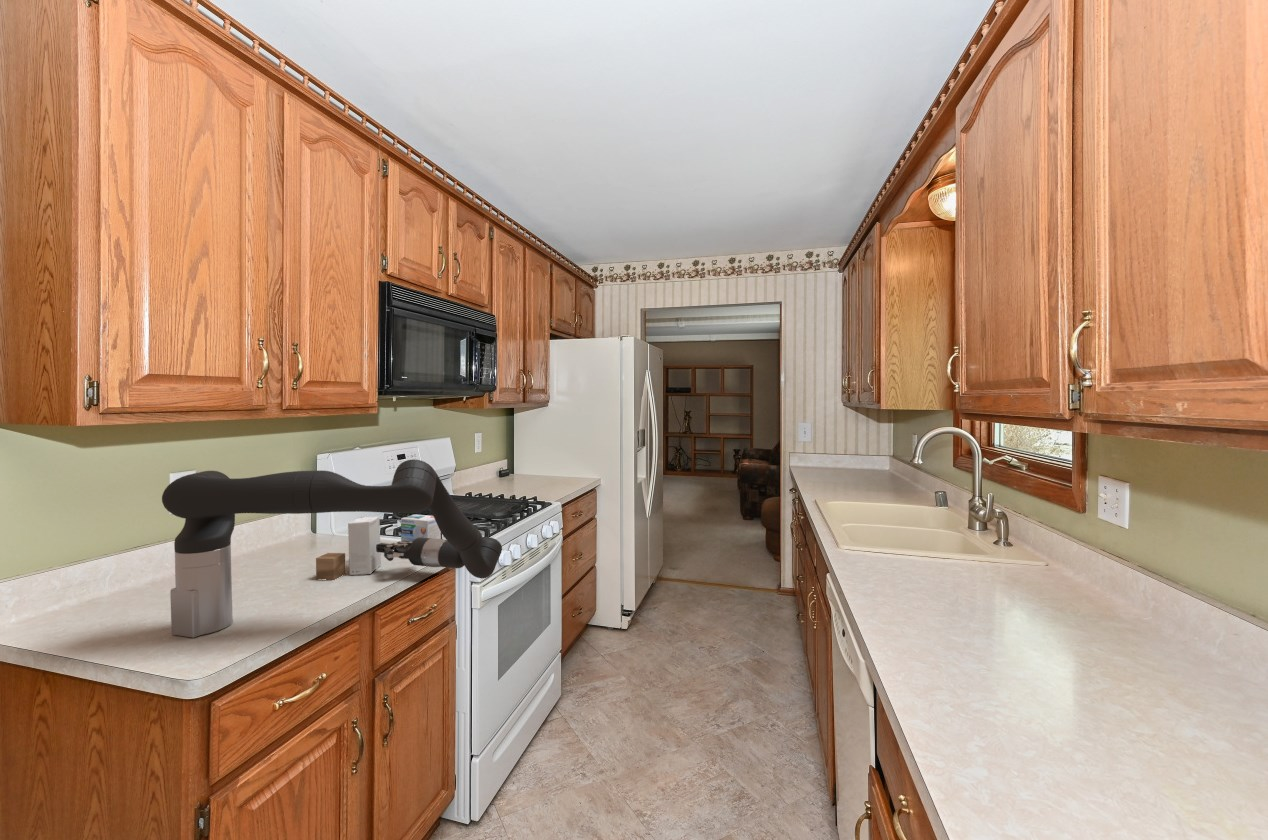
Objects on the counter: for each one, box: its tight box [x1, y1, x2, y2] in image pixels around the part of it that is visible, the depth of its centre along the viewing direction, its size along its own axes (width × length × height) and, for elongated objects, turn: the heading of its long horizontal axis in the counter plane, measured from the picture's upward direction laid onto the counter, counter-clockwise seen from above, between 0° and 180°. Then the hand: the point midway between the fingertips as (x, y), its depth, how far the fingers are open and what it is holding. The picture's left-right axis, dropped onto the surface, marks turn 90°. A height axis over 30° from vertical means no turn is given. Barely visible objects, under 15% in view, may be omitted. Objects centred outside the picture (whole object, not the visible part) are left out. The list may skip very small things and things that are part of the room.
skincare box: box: [347, 516, 382, 576], centre depth 148 cm, size 8×6×15 cm
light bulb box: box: [400, 513, 442, 542], centre depth 169 cm, size 11×7×11 cm, turn 73°
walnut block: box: [315, 552, 346, 581], centre depth 143 cm, size 5×5×6 cm
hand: (377, 547), depth 147 cm, fingers closed
